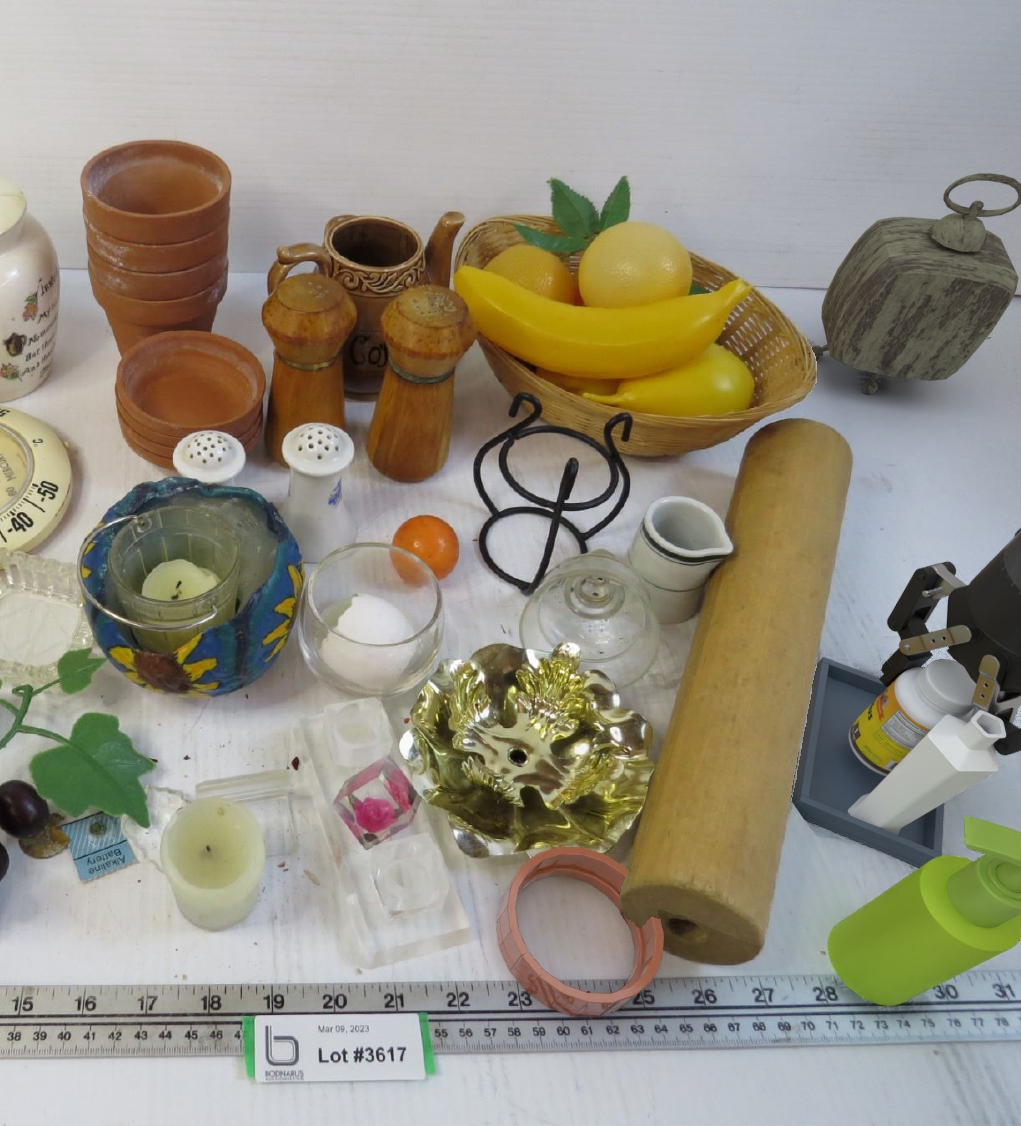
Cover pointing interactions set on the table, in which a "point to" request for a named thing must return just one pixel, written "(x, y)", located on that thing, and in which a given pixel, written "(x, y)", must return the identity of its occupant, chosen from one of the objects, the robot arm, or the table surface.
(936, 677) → the supplement bottle
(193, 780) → the table surface
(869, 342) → the tabletop clock
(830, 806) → the tray
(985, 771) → the perfume bottle
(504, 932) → the faceted terracotta bangle
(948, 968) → the soap dispenser
